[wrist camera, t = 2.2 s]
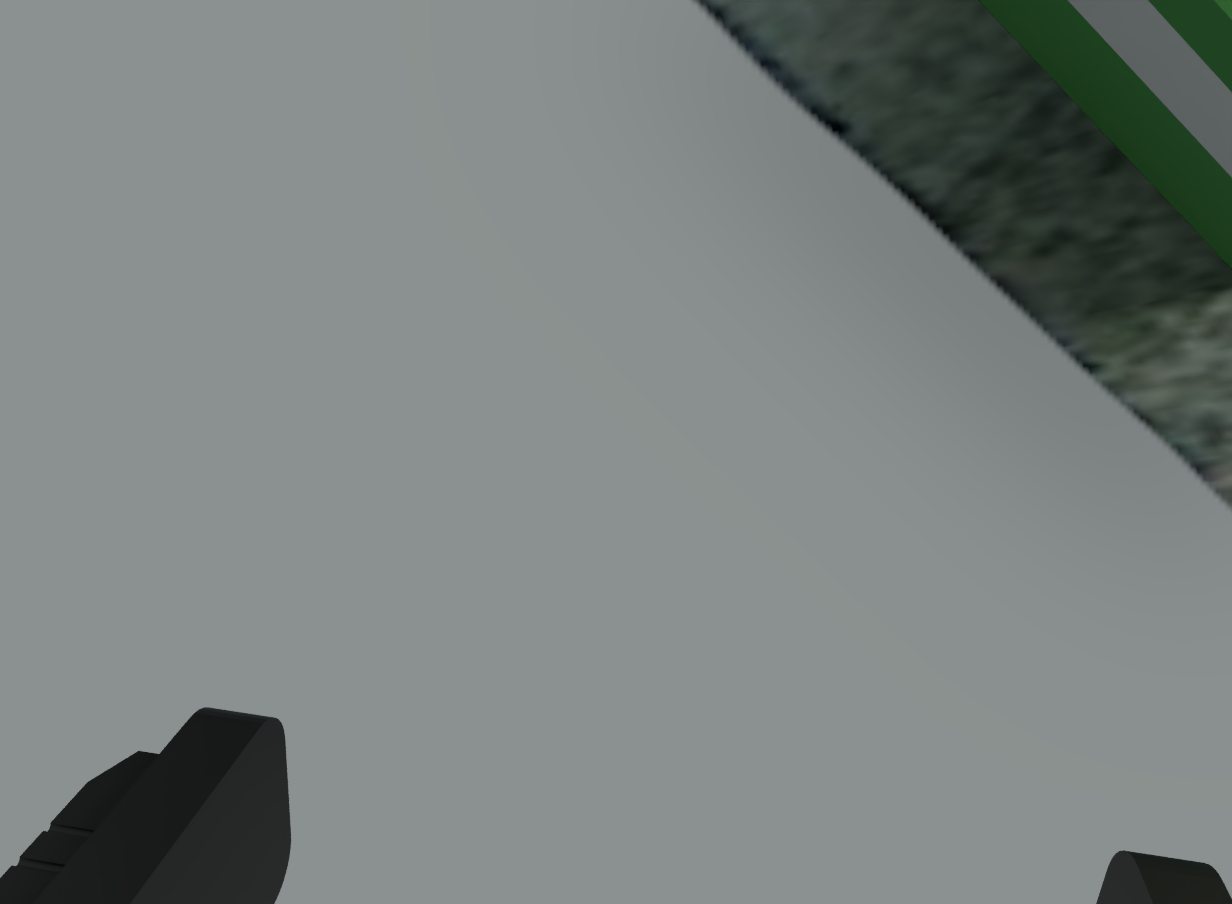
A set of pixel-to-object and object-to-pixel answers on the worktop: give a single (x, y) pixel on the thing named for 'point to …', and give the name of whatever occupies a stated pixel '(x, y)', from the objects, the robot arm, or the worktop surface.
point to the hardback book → (1147, 89)
